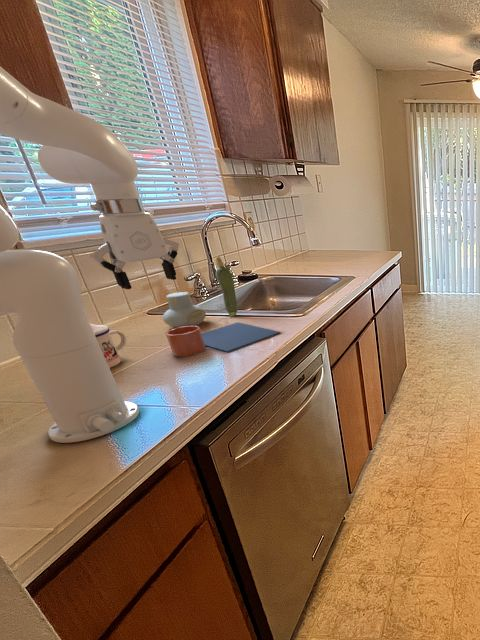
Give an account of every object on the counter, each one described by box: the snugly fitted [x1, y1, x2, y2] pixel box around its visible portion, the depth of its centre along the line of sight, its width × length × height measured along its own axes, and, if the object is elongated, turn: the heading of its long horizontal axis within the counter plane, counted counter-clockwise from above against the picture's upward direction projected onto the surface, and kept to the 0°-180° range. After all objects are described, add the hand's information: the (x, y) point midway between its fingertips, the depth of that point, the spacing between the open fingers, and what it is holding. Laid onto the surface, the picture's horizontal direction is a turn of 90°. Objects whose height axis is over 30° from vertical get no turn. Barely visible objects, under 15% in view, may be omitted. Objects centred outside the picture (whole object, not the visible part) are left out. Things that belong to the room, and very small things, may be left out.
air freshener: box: [162, 291, 207, 328], centre depth 123 cm, size 11×8×10 cm
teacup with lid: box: [90, 323, 127, 369], centre depth 97 cm, size 12×9×12 cm
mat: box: [201, 322, 281, 353], centre depth 115 cm, size 20×16×1 cm
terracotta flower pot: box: [165, 325, 206, 357], centre depth 105 cm, size 7×7×6 cm
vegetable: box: [215, 255, 238, 317], centre depth 130 cm, size 4×4×20 cm
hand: (150, 283), depth 96 cm, fingers open, 9 cm apart
